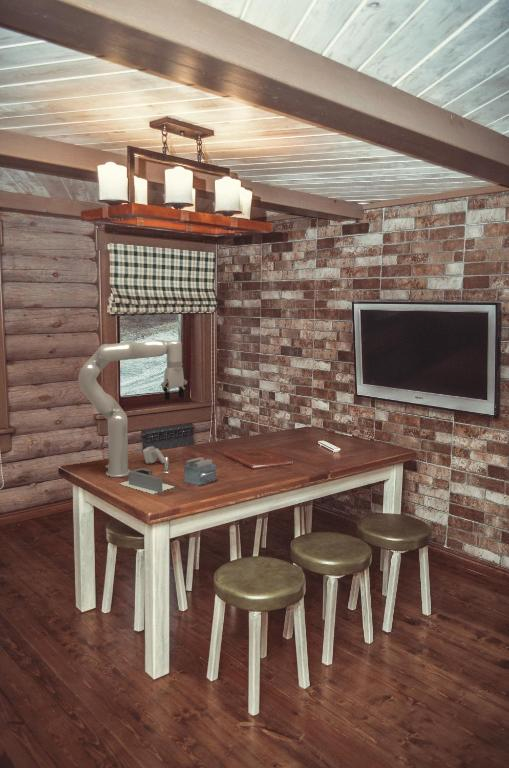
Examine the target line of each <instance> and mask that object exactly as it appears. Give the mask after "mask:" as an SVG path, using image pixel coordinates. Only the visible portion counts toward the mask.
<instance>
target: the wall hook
mask: <svg viewBox="0 0 509 768" xmlns="http://www.w3.org/2000/svg"><path fill="white" fill-rule="evenodd" d="M142 453H143V457H144V462H145V464H146V465H149V464H154V463H156V461H157V460H159V462H160V463H161V464H162V465H163V464H165V462H164V457H165V456H164V455H163V454H162V451H161V450H160V449H159V448H155V446H154V445H153V446H148V447H145V448H144V449H143V450H142Z"/></svg>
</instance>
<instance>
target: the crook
mask: <svg viewBox="0 0 509 768" xmlns="http://www.w3.org/2000/svg"><path fill="white" fill-rule="evenodd" d="M128 481H129V484H130V485H134V486H138V487H142V488H145V489H149V490H153V491H157V492H159V493H161V492H160V491H162V483H163V477H161V476H160V477H159V476H155V475H153V470H152V469H148V468H145V467H144V468H143V467H140V468H137V469H134V470H131V471H130V472H129V475H128ZM162 492H163V491H162Z"/></svg>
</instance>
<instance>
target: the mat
mask: <svg viewBox="0 0 509 768" xmlns="http://www.w3.org/2000/svg"><path fill="white" fill-rule="evenodd" d="M119 484H121V485H120V486H122V485H123V486H124V487H126V486H127V488H129V487H130V488H129V489H132V488H133V489H134V490H136V489H137V491H139V490H140V492H142V491H143V493H146V492H147V493H146V494H149V493H150V495H152V494H153V495H156V494H159V493H162V492H165V491H164V490H166V491H168V490H167V489H169V490H172V489H175V488H174V487H175V486H174V485H170V484H167V483H164V482H162V492H161V491H160V492H159V493H158V492H157V491H153V490H149V489H145V488H142V487H138V486H134V485H130V484H129V480H127V481H124V482H120V483H118V485H119ZM171 488H172V489H171ZM155 493H156V494H155Z"/></svg>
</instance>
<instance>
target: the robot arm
mask: <svg viewBox="0 0 509 768" xmlns="http://www.w3.org/2000/svg"><path fill="white" fill-rule="evenodd" d="M182 345H183V344H182V342H181V341H180V340H160V339H157V340H155V341H150V342H149V341H148V342H131V341H128V342H120V343H119V342H118V343H110V344H109V343H103V344H101V345H100V346H99V347H98V348H97V350H96V351H95V352H94V353H93V354H92V355H91V356H90V358H89V359H88V360H86V362H85V363H84V364H83V365H82V367H81V369H80V370H79V373H78V380H77V381H78V386H79V388H80V390H81V391H82V393H83V394H84V395H85V397H86V398H87V400H88V401H89V402H90V404H92V405H93V408H95V410H96V412H97V413H98V414H100V415H102V416H103V417H104V418H105V419H106V421H107V438H108V439H107V442H108V443H107V445H108V463H107V465H105V468H106V469H107V471H106V472H105V476H107V477H109V476H110V477H109V478H123V477H125V478H126V477H129V472H130V471H132V470H130V469H129V446H128V445H129V444H128V443H129V442H128V440H129V439H128V424H129V423H128V416H127V414H126V412H125V410H124V409H123V408H122V407H121V405H120V404H119V403H118V402H117V401H116V399H115V398H114V397H113V396H112V395H111V394H109V393H106V392H105V390H104V389H103V388H102V386H101V385H100V384H99V383H98V381H97V378H98V376H99V374H100V373H101V372H102V371H103V370H104V369H105V367H106V366H107V365H108V364H109V363H110V362H118V361H127V360H138V359H149V358H157V357H163V356H164V355H166V368H165V369H164V376H163V377H164V378H163V382H161V383H160V386H161V388H162V389H161V390H163V392H164V400H166V401H170V400H171V392H170V391H171V389H174V388H178V398H181V399H182V398H183V399H184V397H185V389H186V387H187V384H188V380H187V379H185V378H184V369H183V362H182V361H183V358H182V357H183V355H182V354H183V353H182V352H183V351H182V350H183V349H182V348H183V346H182Z"/></svg>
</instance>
